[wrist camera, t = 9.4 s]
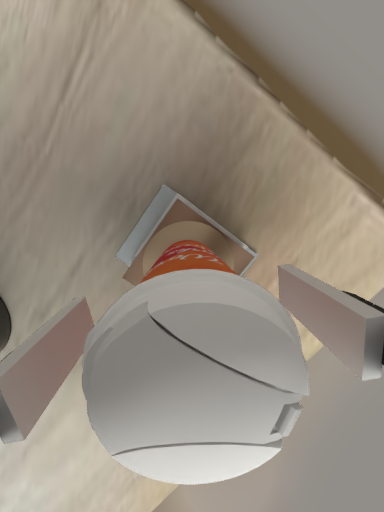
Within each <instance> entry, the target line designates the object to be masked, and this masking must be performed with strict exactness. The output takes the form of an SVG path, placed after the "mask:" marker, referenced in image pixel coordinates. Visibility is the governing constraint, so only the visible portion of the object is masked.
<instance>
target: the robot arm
mask: <svg viewBox="0 0 384 512" xmlns="http://www.w3.org/2000/svg"><path fill="white" fill-rule="evenodd" d="M278 277H279V299H280V303H281V304H282V305H283V306H284V307H285V308H286V309H287V310H288V311H289V312H290V313H291V314H293V315H294V316H295V317H296V318H297V319H298V320H299V321H300V322H301V323H302V324H303V325H304V326H305V327H306V328H307V329H308V330H309V331H310V332H311V333H312V334H313V335H314V336H315V337H317V338H318V339H319V340H320V341H321V342H322V343H323V344H324V345H325V346H326V347H327V348H328V349H329V350H330V351H331V352H332V353H333V354H334V355H335V356H336V357H337V358H338V359H339V360H341V361H342V362H343V363H344V364H345V365H346V366H347V367H348V368H349V369H350V370H351V371H352V372H353V373H354V374H355V375H356V376H357V377H358V378H360V379H361V381H364V380H370V379H376V378H381V373H382V364H383V365H384V309H383V308H381V307H379V306H377V305H373V303H371V302H369V301H367V300H365V299H363V298H361V297H359V296H357V295H355V294H352V293H349V292H345V291H340V290H338V289H336V288H334V287H332V286H331V285H329V284H327V283H325V282H323V281H321V280H319V279H317V278H315V277H313V276H311V275H309V274H308V273H306V272H304V271H302V270H300V269H298V268H296V267H294V266H292V265H290V264H285V265H279V266H278ZM93 327H94V324H93V320H92V317H91V314H90V311H89V307H88V304H87V301H86V298H85V297H82V298H76V299H73V300H72V301H71V302H70V303H68V304H67V305H66V306H65V307H64V308H63V309H61V310H60V311H59V312H58V313H57V314H56V315H54V316H53V317H52V318H51V319H50V320H49V321H47V322H46V323H45V324H44V325H43V326H42V327H41V328H39V329H38V330H37V331H36V332H35V333H34V334H32V335H31V336H30V337H29V338H28V339H27V340H25V341H24V342H23V343H22V344H21V345H20V346H18V347H17V348H16V349H15V350H14V351H12V352H11V353H10V354H8V355H7V356H6V357H5V358H4V359H3V360H1V362H0V437H1V439H2V441H3V443H4V444H6V443H11V442H17V441H23V440H25V439H26V437H27V436H28V434H29V433H30V431H31V430H32V428H33V427H34V425H35V424H36V422H37V421H38V419H39V418H40V416H41V415H42V413H43V412H44V410H45V409H46V407H47V406H48V404H49V403H50V401H51V400H52V398H53V397H54V395H55V394H56V392H57V391H58V389H59V388H60V386H61V385H62V383H63V382H64V380H65V379H66V377H67V376H68V374H69V373H70V371H71V370H72V368H73V367H74V365H75V364H76V362H77V361H78V359H79V358H80V356H81V355H82V353H83V349H84V345H85V342H86V339H87V335H88V333H89V332H90V331H91V329H92V328H93ZM9 334H10V320H9V315H8V312H7V310H6V308H5V306H4V304H3V302H2V301H1V299H0V351H1V350H2V349H3V348H4V346H5V345H6V343H7V341H8V338H9Z"/></svg>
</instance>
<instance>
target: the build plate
mask: <svg viewBox="0 0 384 512" xmlns="http://www.w3.org/2000/svg"><path fill="white" fill-rule="evenodd" d="M177 198H178V199H179V200H181V201H182V202H183V203H185V204H186V205H187V206H189V207H190V208H191V209H193V210H194V211H195V212H197V213H198V214H199V215H200V216H202V217H203V218H204V219H206V220H207V221H208V222H210V223H211V224H212V225H214V226H215V227H216V228H218V229H219V230H220V231H222V232H223V233H224V234H226V235H227V236H228V237H230V238H231V239H232V240H233V241H235V242H236V243H237V244H239V245H240V246H241V247H243V248H244V249H245V250H247V251H248V252H249V253H251V254H252V255H253V256H255V257H254V258H253V260H252V261H251V262H250V263H249V265H248V266H247V267H246V268H245V269H244V271H243V272H242V273H241V274H240V276H242V275H243V274H244V272H245V271H246V270H247V269H248V268H249V266H250V265H251V264H252V263H253V261H254V260H255V259H256V258H257V257H258V255H257V254H256V253H255V252H253V251H252V250H251V249H249V248H248V246H247V245H245V244H244V243H243V242H241V241H240V240H239V239H238V238H236V237H235V236H234V235H232V234H231V233H230V232H228V231H227V230H226V229H224V228H223V227H222V226H220V225H219V224H218V223H217V222H215V221H214V220H213V219H211V218H210V217H209V216H207V215H206V214H205V213H203V212H202V211H201V210H200V209H198V208H197V207H196V206H194V205H193V204H192V203H190V202H189V201H188V200H186V199H185V198H184V197H183V196H181V195H180V194H179V193H176V192H175V191H173V190H172V189H171V188H169V187H168V186H167V185H165V184H163V186H162V187H161V189H160V190H159V192H158V193H157V195H156V196H155V198H154V199H153V201H152V202H151V204H150V205H149V207H148V208H147V210H146V211H145V212H144V214H143V215H142V217H141V218H140V220H139V221H138V223H137V224H136V226H135V227H134V229H133V230H132V232H131V233H130V235H129V236H128V238H127V239H126V241H125V242H124V244H123V245H122V247H121V248H120V250H119V251H118V253H117V254H116V256H115V257H117V258H118V259H120V260H121V261H123V262H124V263H126V264H127V265H128V266H129V267H130V266H131V264H132V263H133V261H134V260H135V258H136V257H137V256H138V254H139V253H140V251H141V250H142V248H143V247H144V246H145V244H146V243H147V241H148V240H149V238H150V237H151V235H152V234H153V233H154V231H155V230H156V228H157V227H158V225H159V224H160V222H161V221H162V220H163V218H164V217H165V215H166V214H167V212H168V211H169V210H170V208H171V207H172V205H173V204H174V202H175V201H176V199H177Z"/></svg>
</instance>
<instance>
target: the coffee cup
mask: <svg viewBox="0 0 384 512" xmlns="http://www.w3.org/2000/svg"><path fill="white" fill-rule="evenodd" d="M82 367H83V373H82V388H83V392H84V395H85V398H86V400H87V411H88V416H89V419H90V423H91V426H92V428H93V430H94V431H95V433H96V435H97V436H98V438H99V440H100V441H101V443H102V444H103V446H104V447H105V448H106V450H107V451H108V453H109V454H110V455H111V456H112V457H113V458H114V459H115V460H116V461H117V462H119V463H120V464H122V465H123V466H125V467H126V468H128V469H130V470H132V471H134V472H136V473H138V474H140V475H142V476H145V477H148V478H151V479H154V480H158V481H163V482H168V483H176V484H205V483H212V482H218V481H222V480H226V479H230V478H234V477H236V476H239V475H242V474H244V473H246V472H249V471H251V470H253V469H254V468H256V467H258V466H260V465H262V464H263V463H265V462H266V461H268V460H269V459H270V458H272V457H273V456H274V455H275V454H277V453H278V452H279V451H280V450H281V449H282V440H281V437H286V436H288V435H289V434H290V431H291V430H292V428H293V426H294V424H295V422H296V420H297V418H298V416H299V414H300V412H301V410H302V408H303V406H302V405H300V404H299V402H300V400H301V398H302V396H303V395H306V396H309V388H310V383H309V375H308V369H307V364H306V361H305V358H304V356H303V353H302V347H301V341H300V336H299V333H298V330H297V328H296V325H295V323H294V321H293V319H292V318H291V316H290V314H289V313H288V311H287V310H286V308H285V307H284V306H283V305H282V304H281V303H280V302H279V300H278V299H277V298H276V297H275V296H273V295H272V294H271V293H270V292H268V291H267V290H266V289H265V288H263V287H262V286H260V285H258V284H256V283H254V282H253V281H251V280H249V279H247V278H244V277H241V276H239V275H238V274H237V273H235V272H234V271H233V270H232V269H231V268H230V267H229V266H228V265H227V264H226V263H225V262H224V261H223V260H221V259H220V258H219V257H218V256H217V255H216V254H215V253H214V252H213V251H212V250H210V249H209V248H208V247H207V246H205V245H204V244H202V243H200V242H197V241H193V240H183V241H179V242H176V243H174V244H172V245H171V246H170V247H168V248H167V249H166V250H165V251H164V252H163V253H162V255H161V256H160V257H159V258H158V260H157V261H156V262H155V263H154V265H153V266H152V267H151V269H150V270H149V271H148V273H147V274H146V275H145V277H144V278H143V279H142V280H141V282H140V283H139V284H138V285H137V286H135V287H134V288H132V289H130V290H129V291H127V292H126V293H124V294H123V295H122V296H121V297H120V298H119V299H118V300H117V301H115V302H114V303H113V304H112V305H111V306H110V307H109V309H108V310H107V311H106V313H105V314H104V315H103V317H102V318H101V319H100V320H99V321H98V323H97V324H96V325H95V326H94V327H93V328H92V329H91V331H90V332H89V333H88V335H87V339H86V342H85V345H84V349H83V360H82Z"/></svg>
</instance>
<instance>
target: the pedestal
mask: <svg viewBox="0 0 384 512" xmlns="http://www.w3.org/2000/svg"><path fill="white" fill-rule="evenodd" d="M183 240H193V241H197V242H200V243H202V244H204V245H205V246H207V247H208V248H209V249H210V250H212V251H213V252H214V253H215V254H216V255H217V256H218V257H219V258H220V259H221V260H223V261H224V262H225V263H226V264H227V265H228V266H229V267H230V268H231V269H232V270H233V271H234V272H235V273H237V274H238V275H239V276H240V274H241V273H242V272H243V271H244V269H245V268H246V267H247V266H248V265H249V263H250V262H251V261H252V260H253V258H254V257H255V256H253V255H252V254H251V253H249V252H248V251H247V250H245V249H244V248H243V247H241V246H240V245H239V244H237V243H236V242H235V241H233V240H232V239H231V238H230V237H228V236H227V235H226V234H224V233H223V232H222V231H220V230H219V229H218V228H216V227H215V226H214V225H212V224H211V223H210V222H208V221H207V220H206V219H204V218H203V217H202V216H200V215H199V214H198V213H197V212H195V211H194V210H193V209H191V208H190V207H189V206H187V205H186V204H185V203H183V202H182V201H181V200H179V199H178V198H177V199H176V201H175V202H174V204H173V205H172V207H171V208H170V210H169V211H168V212H167V214H166V215H165V217H164V218H163V220H162V221H161V222H160V224H159V225H158V227H157V228H156V230H155V231H154V233H153V234H152V235H151V237H150V238H149V240H148V241H147V243H146V244H145V246H144V247H143V248H142V250H141V251H140V253H139V254H138V256H137V257H136V258H135V260H134V261H133V263H132V264H131V266H130V267H129V269H128V270H127V271H126V273H125V274H124V276H123V277H122V278H124V279H125V280H127V281H128V282H130V283H132V284H133V285H135V286H137V285H138V284H139V283H140V282H141V280H142V279H143V278H144V277H145V275H146V274H147V273H148V271H149V270H150V269H151V267H152V266H153V265H154V263H155V262H156V261H157V260H158V258H159V257H160V256H161V255H162V253H163V252H164V251H165V250H166V249H167V248H168V247H170V246H171V245H172V244H174V243H176V242H179V241H183Z"/></svg>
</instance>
